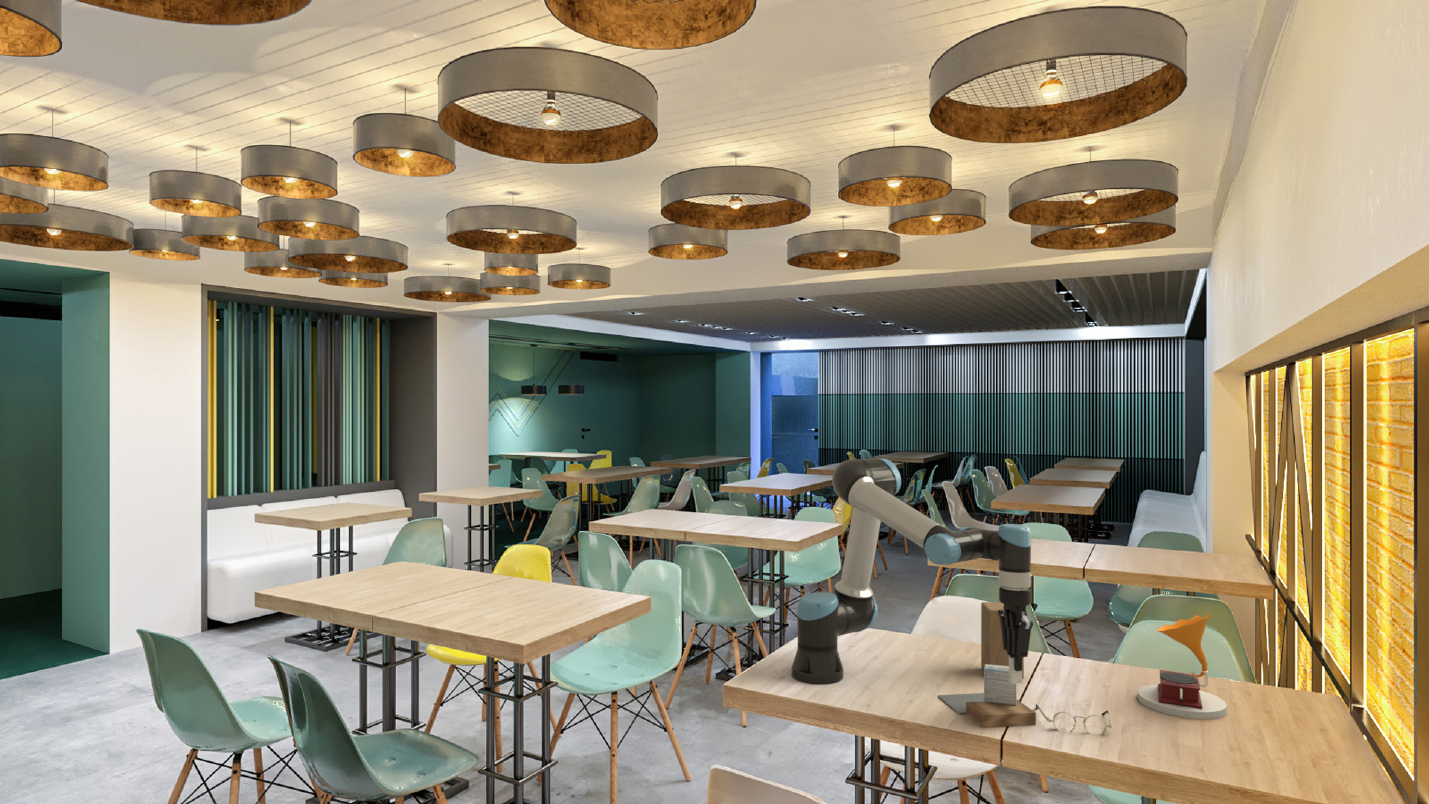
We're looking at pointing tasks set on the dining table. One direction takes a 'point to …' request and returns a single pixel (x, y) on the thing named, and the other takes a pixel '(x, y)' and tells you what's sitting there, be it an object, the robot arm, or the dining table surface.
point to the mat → (961, 700)
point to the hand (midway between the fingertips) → (1015, 682)
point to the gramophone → (1184, 679)
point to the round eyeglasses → (1075, 719)
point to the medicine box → (998, 685)
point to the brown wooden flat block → (1000, 714)
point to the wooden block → (993, 637)
